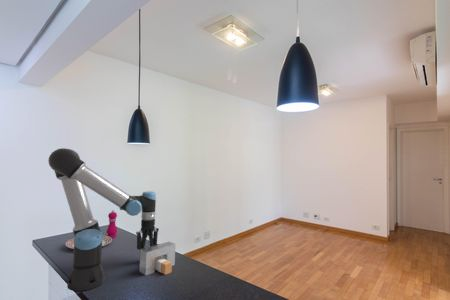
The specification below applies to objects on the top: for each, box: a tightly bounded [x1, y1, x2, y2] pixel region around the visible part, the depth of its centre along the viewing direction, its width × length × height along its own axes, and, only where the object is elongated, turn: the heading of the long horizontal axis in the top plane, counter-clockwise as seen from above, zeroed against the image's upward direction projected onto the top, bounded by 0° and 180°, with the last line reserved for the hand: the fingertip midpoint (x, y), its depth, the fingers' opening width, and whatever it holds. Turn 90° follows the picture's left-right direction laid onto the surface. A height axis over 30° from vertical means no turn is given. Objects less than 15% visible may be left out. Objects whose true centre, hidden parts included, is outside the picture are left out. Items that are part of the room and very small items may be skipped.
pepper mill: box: [106, 209, 118, 239], centre depth 183 cm, size 7×7×20 cm
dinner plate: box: [64, 234, 113, 250], centre depth 164 cm, size 28×27×3 cm
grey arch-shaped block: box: [138, 241, 176, 276], centre depth 133 cm, size 6×18×12 cm, turn 138°
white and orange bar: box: [155, 256, 173, 275], centre depth 134 cm, size 24×4×5 cm, turn 49°
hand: (146, 260), depth 140 cm, fingers closed on white and orange bar, 4 cm apart
